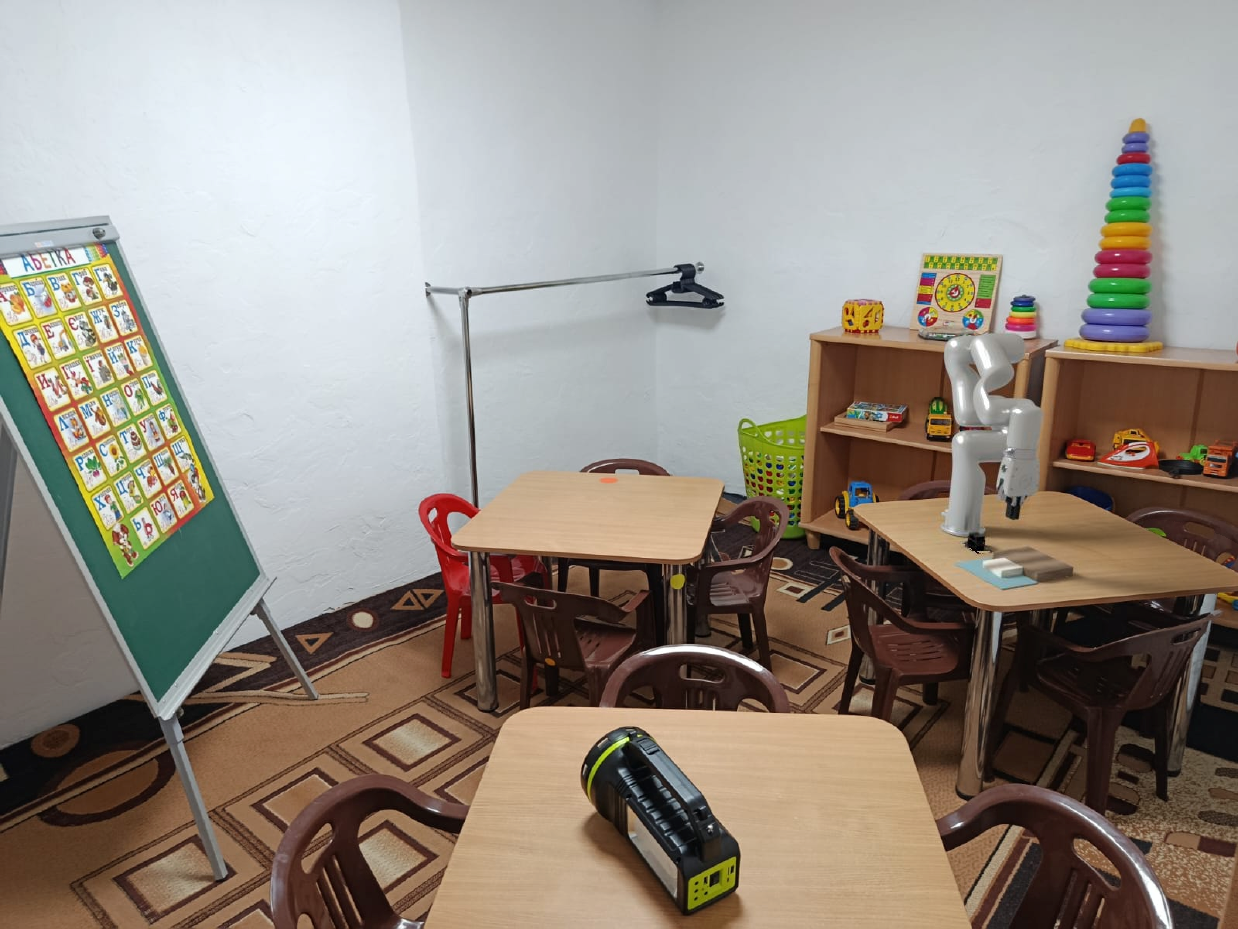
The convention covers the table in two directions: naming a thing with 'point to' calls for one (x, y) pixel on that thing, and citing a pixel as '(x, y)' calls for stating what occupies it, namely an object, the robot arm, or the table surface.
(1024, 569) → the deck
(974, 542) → the black irregular piece
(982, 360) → the robot arm
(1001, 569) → the tile
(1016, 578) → the mat
